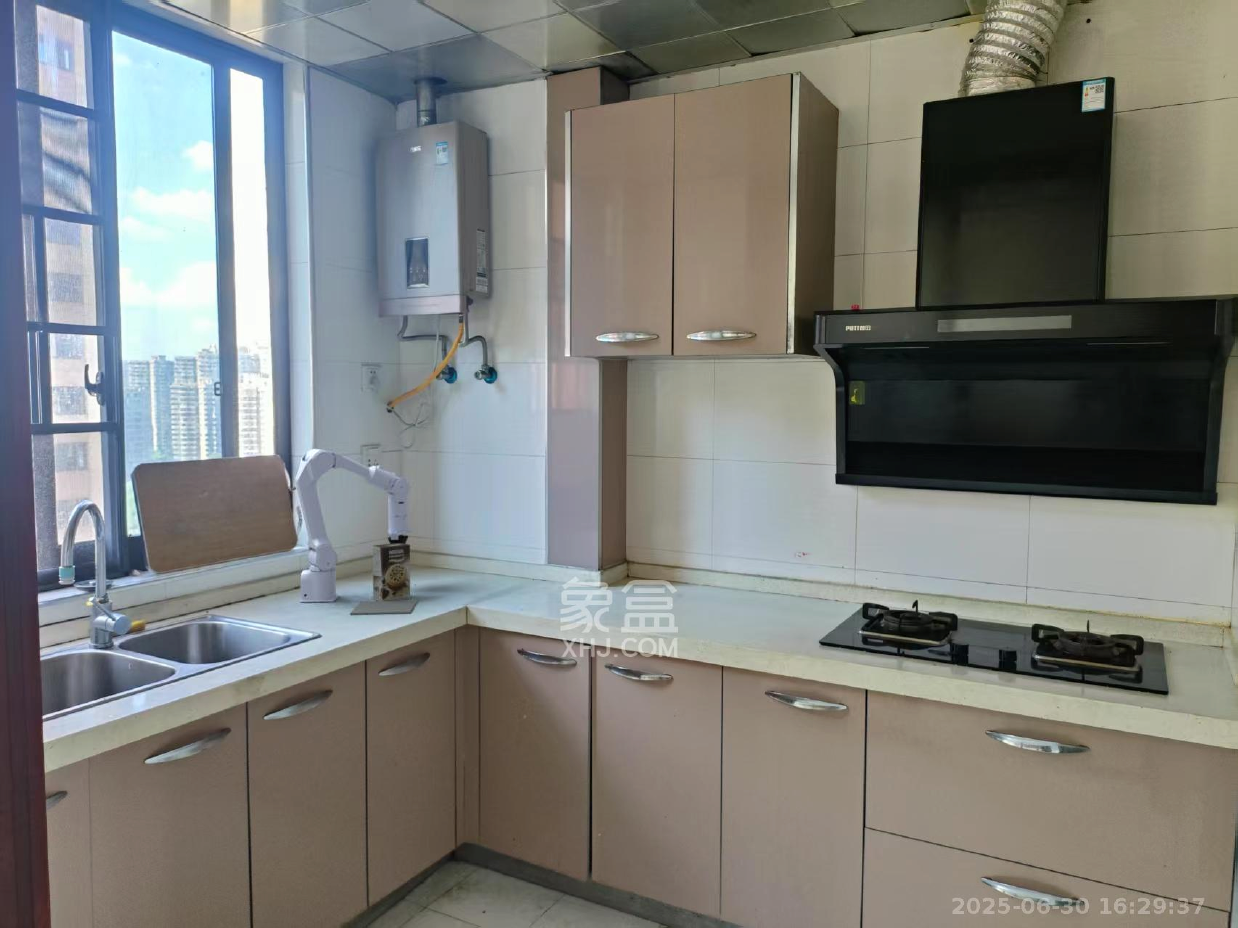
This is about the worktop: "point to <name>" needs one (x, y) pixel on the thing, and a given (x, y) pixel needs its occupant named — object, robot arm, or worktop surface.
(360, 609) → the mat
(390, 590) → the coffee box
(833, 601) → the worktop surface
